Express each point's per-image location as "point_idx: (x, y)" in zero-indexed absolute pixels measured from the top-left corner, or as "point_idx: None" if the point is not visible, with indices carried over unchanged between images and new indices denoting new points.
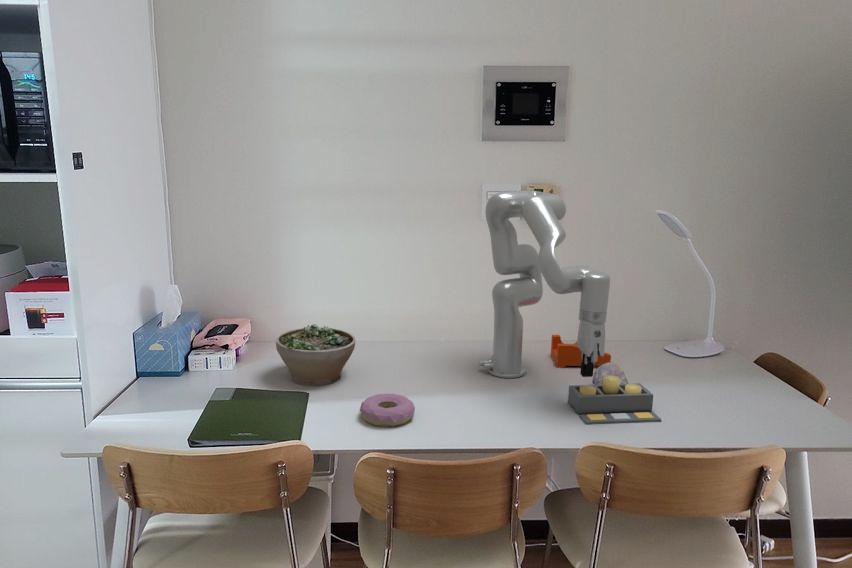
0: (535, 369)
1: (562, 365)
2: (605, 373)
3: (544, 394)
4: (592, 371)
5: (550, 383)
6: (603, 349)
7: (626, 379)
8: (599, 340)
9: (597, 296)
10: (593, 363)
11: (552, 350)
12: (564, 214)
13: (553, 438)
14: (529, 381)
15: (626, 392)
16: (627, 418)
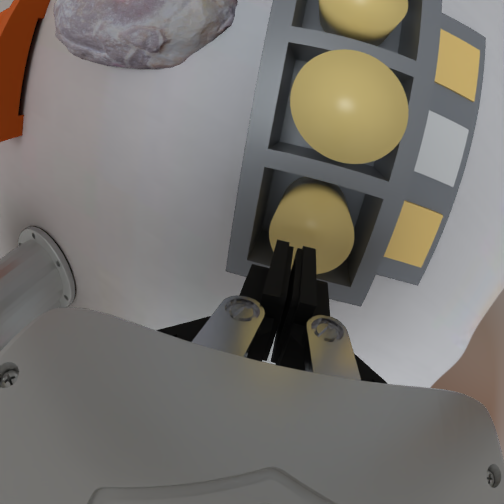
0: (29, 195)
1: (17, 123)
2: (112, 26)
3: (166, 264)
4: (315, 271)
5: (94, 202)
6: (500, 489)
7: None
8: None
9: None
10: (343, 339)
11: None
12: None
13: (420, 375)
14: (84, 250)
15: (395, 53)
16: (465, 141)
